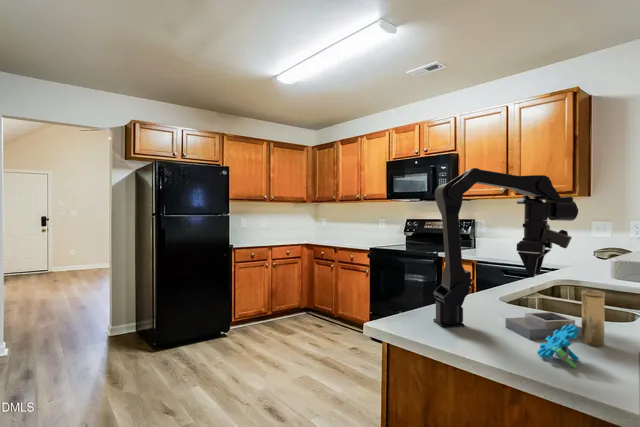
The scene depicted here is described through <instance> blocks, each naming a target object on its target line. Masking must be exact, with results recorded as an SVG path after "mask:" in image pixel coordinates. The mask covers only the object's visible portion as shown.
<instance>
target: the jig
mask: <svg viewBox="0 0 640 427" xmlns="http://www.w3.org/2000/svg"><path fill="white" fill-rule="evenodd" d="M571 324H573V325H574V326H576V327H577V328H579V331H578V332H577V333H576V334H577V335H578V336H577V337H576V338H575V339H577V338H582V326H579V325H578V324H576V320H575V319H572V318H570V317H567V316H565V315H562V314H560V313H556V312H554V311H544V312H539V311H538V312H525V313H524V316H523V317H506V318H505V328H506V329H507V330H511V331H512V332H514V333H515V334H518V335H519V336H522V337H524V338H525V337H526V339H527V338H528V340H529V339H534V340H545V338H547V337H548V336H551V337H552V336H553V334H554V333H553V332H554V331H555V330H557V329H558V330H559V331H560V330H561V329H562V327H563V326H565V325H567V326H569V325H571Z"/></svg>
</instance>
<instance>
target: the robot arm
mask: <svg viewBox="0 0 640 427" xmlns="http://www.w3.org/2000/svg"><path fill="white" fill-rule="evenodd" d="M475 184H476V185H483V186H489V187H495V188H496V187H497V188H503V189H507V190H512V191H514V192H516V193H518V194H520V195H523V196H522V197H521V198H519V200H517V201H516V204H517V205H524V212H523V213H524V217H523V219H524V221H523V223H522V228H523V237H522V240H520V241H519V242H518V243H516V252H517V254H518V255H519V257H520V260H521V262H522V264H523V267H524V268H525V270H526V273H527V275H528V277H529V278H535V275H536V274H540V273H541V270H542V269H541V268H542V266H543V262H544V259H545V256H546V255H547V254H548V253H549V252H551V251H552V250H551V249H552V248H553V244H554V245H557V246H559V247H560V248H563V249H567V248H568V247H569V245H570V242H571V240H572V236H570V235H569V233H568V231H567V230H565V229H560V230H559V231H555V230H552V229H551V228H550V224H549V223H548V220H549V221H556V222H557V221H559V222H561V221H568V222H571V221H574V220H576V219H577V218H578V214H579V208H578V206H577V203H576V202H575V201H574V197H573V196H562V197H561V195H560V194H559V192H558V191H557V190H556V188H555V187H554V186H553V182H552V180H551V178H550V176H548V175H543V174H542V175H540V174H536V175H535V174H533V175H515V174H509V173H503V172H496V171H491V170H485V169H480V168H478V167H473V168H472V167H471V168H470V169H466V170H465V171H464V172H463V173H462V174H459V175H458V176H457V177H455V178H454V179H452V180H450V181H449V182H448V183H447V182H446V183H442V184H440V185H439V186H437V188H436V189H435V190H434V198H435V201H436V206H437V209H438V211H439V212H440V214H441V221H442V222H441V224H442V234H443V235H442V236H443V237H442V238H443V249H444V262H445V264H444V268H443V270H442V275H441V282H440V283H441V284H439V285H438V287H437V288H435V289H434V290H433V295H434V298H435V299H436V300H435V318H433V319H432V320H433V322H435V323H436V324H437V325H438V326H441V328H446V327H447V328H453V327H465V323H463V322H464V308H463V304H464V303H465V302H464V301H465V299H466V297H467V296H468V295H469V294H470V291H471V288H472V287H473V285H472V280H471V278H472V274H471V273H472V272H471V271H469V270H467V269H465V268H464V266H463V258H462V257H463V255H462V254H463V253H462V243H461V242H462V241H461V231H460V217H459V216H460V211H461V209H462V206H463V205H462V204H463V199H464V198H463V197H464V196H463V195H464V194H465V193H467V192H468V191H469V190H470V189H471V188H472V187H473V186H475ZM531 197H532V198H531Z"/></svg>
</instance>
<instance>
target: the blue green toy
mask: <svg viewBox="0 0 640 427" xmlns="http://www.w3.org/2000/svg"><path fill="white" fill-rule="evenodd" d="M578 331H579V328H577V327H576V326H574V325H573V324H571V325H569V326H567V325H565V326H563V327H562V329H561V330H560V331H559V330H558V329H557V330H555V331H554V332H553V333H554V334H553V336H552V337H551V336H548V337H547V338H545V339H544V340H545V341H546V343H544V342H542V343H541V344H540V345H539V349H537V354H538V356H540V358H542V359H543V360H544V359H545V358H548V359H551V358H553V356H554V354H556V355H558V358H559V359H560V360H561V361H565V362H567V364H569V366H571V368H573V369H576V368H577V365H576V364H575V363H574V362H577V361H579V359H580V358H579V357H578V356H577V355H576V354H575V353H574V352H573V351H572V350H571V349H570V348H569V347H570V346H571V345H572V342H571V341H570V339H571V340H576V339H577V338H578V337H577V336H578V335H577V334H576V333H577V332H578ZM576 337H577V338H576ZM569 357H570V358H571V359H572V360H573V361H574V362H573V361H572V360H571V359H570V358H569Z"/></svg>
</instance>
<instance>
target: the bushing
mask: <svg viewBox="0 0 640 427" xmlns="http://www.w3.org/2000/svg"><path fill="white" fill-rule="evenodd" d="M580 292H581V293H580V294H581V327H582V337H581V343H582V344H583V345H585V346H589V347H593V348H603V347H605V297H606V292H605V291H602V290H597V289H596V290H595V289H582V290H581V291H580Z"/></svg>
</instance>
